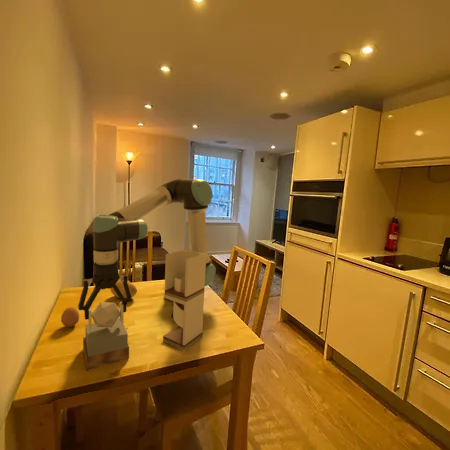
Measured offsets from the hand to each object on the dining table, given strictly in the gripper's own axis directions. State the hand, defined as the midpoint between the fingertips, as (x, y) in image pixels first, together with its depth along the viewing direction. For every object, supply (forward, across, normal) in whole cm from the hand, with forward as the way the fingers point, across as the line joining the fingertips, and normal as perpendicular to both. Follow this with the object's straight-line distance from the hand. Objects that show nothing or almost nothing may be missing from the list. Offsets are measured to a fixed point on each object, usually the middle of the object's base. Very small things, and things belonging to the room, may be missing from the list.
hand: (106, 323), depth 92 cm
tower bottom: (+12, 0, 0) cm, 12 cm away
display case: (+12, +28, -3) cm, 30 cm away
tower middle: (+7, 0, 0) cm, 7 cm away
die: (+1, 0, 0) cm, 1 cm away
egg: (+12, -10, +26) cm, 30 cm away
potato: (+12, +15, +46) cm, 50 cm away
